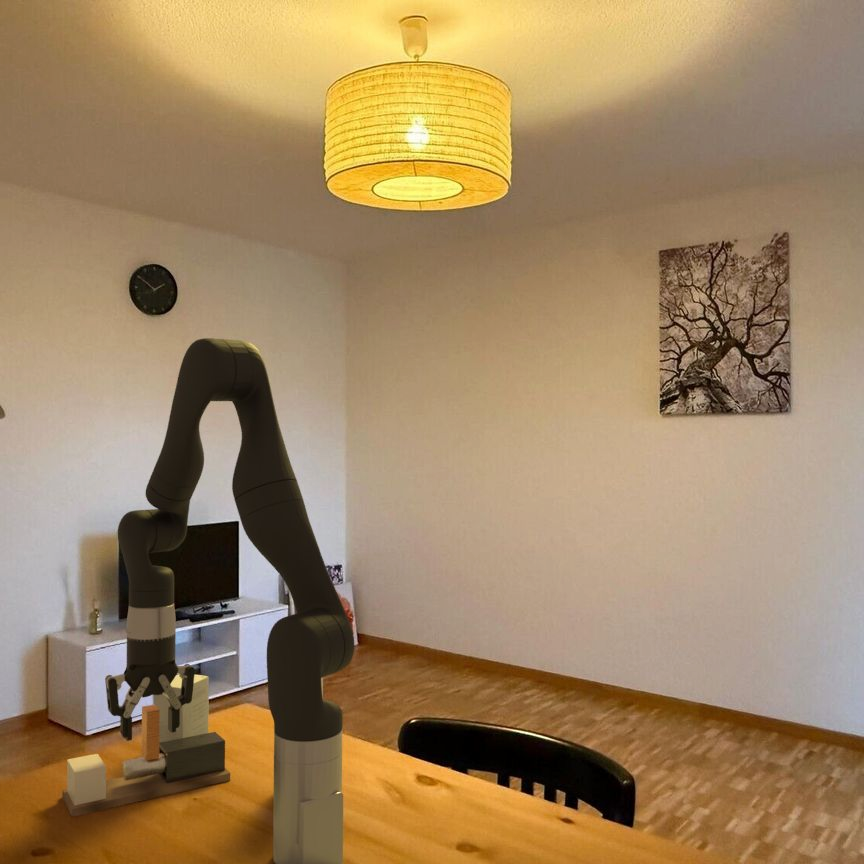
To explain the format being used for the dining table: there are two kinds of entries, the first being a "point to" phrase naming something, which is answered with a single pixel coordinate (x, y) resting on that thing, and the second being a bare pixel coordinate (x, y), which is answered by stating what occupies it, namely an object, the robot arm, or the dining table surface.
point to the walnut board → (141, 790)
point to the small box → (186, 710)
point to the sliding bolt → (147, 748)
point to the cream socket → (86, 779)
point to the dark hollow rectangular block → (193, 756)
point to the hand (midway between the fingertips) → (150, 734)
